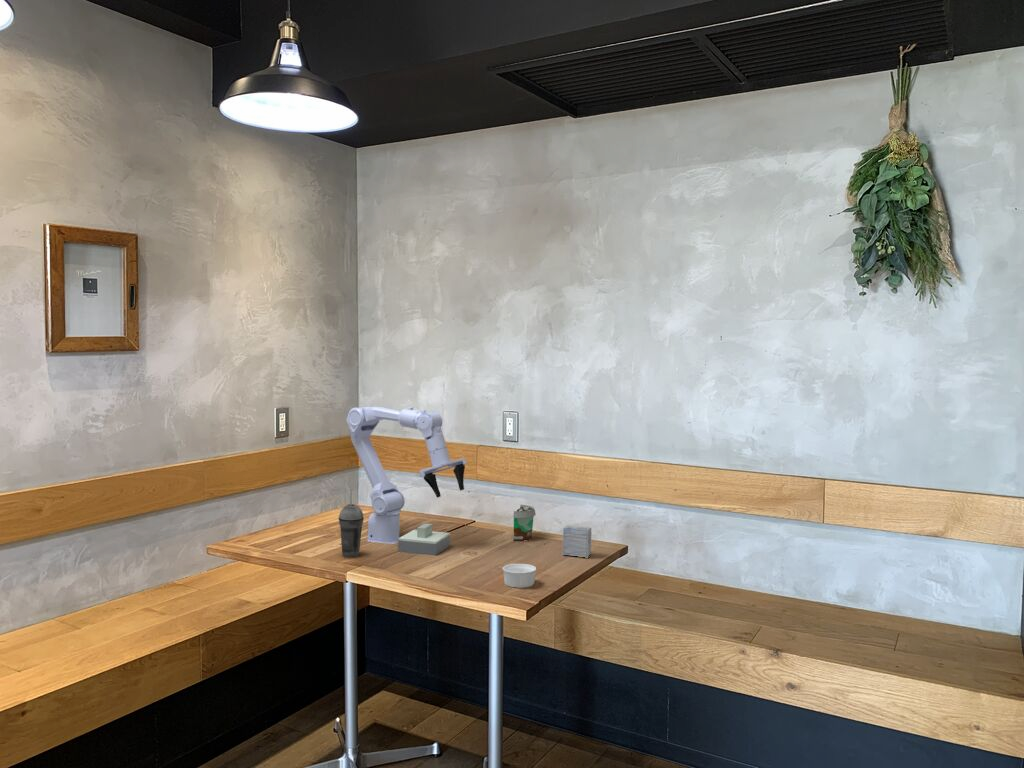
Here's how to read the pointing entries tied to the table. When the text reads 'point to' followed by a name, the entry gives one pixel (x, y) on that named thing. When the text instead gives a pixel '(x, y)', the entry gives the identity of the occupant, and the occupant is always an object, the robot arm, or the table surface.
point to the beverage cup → (351, 529)
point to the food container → (523, 523)
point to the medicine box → (577, 541)
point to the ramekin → (519, 575)
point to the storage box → (423, 547)
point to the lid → (424, 535)
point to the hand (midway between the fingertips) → (450, 493)
